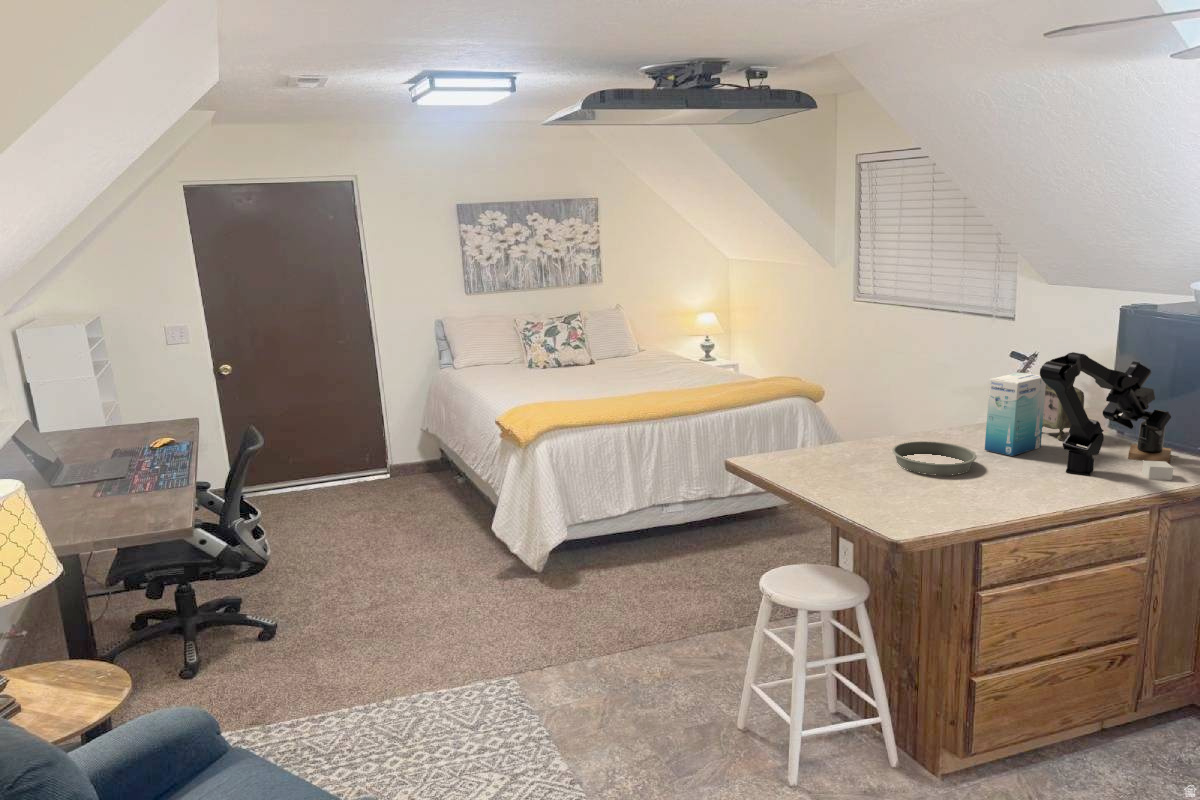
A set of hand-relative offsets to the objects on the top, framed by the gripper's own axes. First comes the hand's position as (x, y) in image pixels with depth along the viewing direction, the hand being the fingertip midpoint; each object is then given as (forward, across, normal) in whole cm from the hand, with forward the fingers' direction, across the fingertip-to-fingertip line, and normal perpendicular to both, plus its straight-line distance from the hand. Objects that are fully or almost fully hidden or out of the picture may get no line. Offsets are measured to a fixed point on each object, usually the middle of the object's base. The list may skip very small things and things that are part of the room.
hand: (1146, 431), depth 278 cm
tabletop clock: (+6, +31, +7) cm, 32 cm away
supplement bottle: (+7, 0, +3) cm, 8 cm away
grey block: (-3, -13, +16) cm, 21 cm away
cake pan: (-36, +26, +50) cm, 67 cm away
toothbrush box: (-12, +26, +25) cm, 38 cm away
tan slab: (+8, 0, +4) cm, 9 cm away
